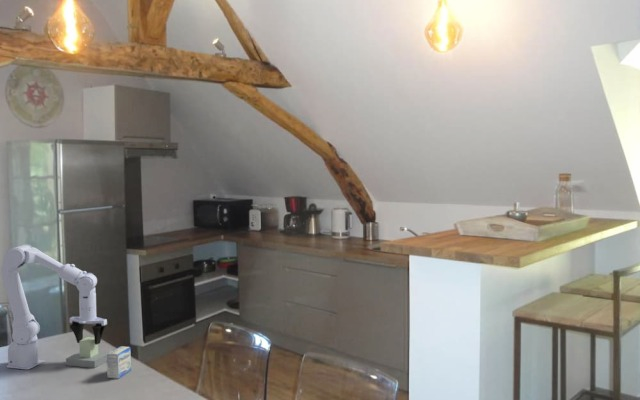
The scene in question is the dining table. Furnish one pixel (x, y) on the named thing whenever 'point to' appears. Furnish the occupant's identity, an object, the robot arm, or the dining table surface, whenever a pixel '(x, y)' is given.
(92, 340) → the green block
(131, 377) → the dining table surface
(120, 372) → the medicine box
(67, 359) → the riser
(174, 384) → the dining table surface
